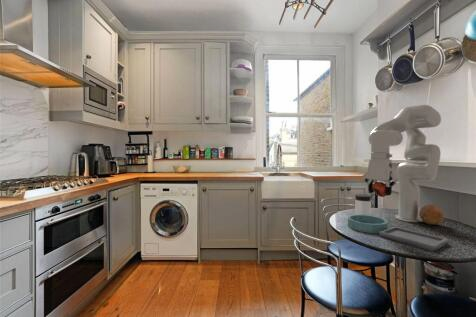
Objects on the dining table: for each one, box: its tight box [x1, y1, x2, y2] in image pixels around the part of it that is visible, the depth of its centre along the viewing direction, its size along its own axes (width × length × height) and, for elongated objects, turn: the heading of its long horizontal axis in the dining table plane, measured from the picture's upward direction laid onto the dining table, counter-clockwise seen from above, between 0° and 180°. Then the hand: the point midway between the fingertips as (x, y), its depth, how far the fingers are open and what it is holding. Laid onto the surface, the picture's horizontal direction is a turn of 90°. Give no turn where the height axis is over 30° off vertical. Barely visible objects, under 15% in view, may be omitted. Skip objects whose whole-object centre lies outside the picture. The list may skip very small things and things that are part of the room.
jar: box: [354, 193, 372, 216], centre depth 143 cm, size 9×8×12 cm
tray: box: [378, 226, 449, 253], centre depth 104 cm, size 14×20×2 cm
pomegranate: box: [370, 181, 387, 198], centre depth 116 cm, size 7×7×10 cm
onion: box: [419, 204, 444, 225], centre depth 126 cm, size 10×10×10 cm
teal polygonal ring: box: [347, 214, 388, 234], centre depth 122 cm, size 17×17×4 cm
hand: (379, 193), depth 116 cm, fingers closed on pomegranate, 7 cm apart
